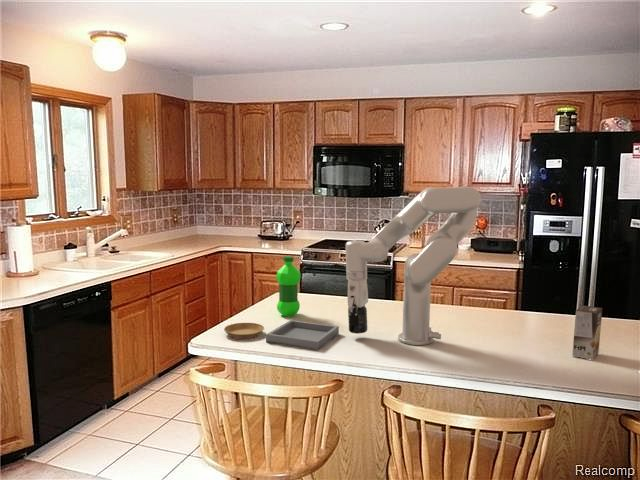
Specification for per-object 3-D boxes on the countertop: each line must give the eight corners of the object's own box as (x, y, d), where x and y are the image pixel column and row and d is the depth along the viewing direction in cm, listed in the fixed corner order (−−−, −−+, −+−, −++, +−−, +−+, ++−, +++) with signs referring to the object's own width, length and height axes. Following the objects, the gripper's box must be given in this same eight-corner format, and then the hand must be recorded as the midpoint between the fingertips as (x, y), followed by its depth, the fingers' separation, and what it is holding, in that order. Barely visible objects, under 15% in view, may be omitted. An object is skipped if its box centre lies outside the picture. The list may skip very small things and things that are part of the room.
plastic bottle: (273, 312, 226) (273, 255, 223) (297, 311, 229) (297, 254, 226) (278, 318, 217) (278, 259, 213) (303, 317, 220) (303, 258, 216)
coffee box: (592, 361, 171) (596, 313, 169) (571, 356, 175) (575, 309, 173) (599, 354, 178) (602, 307, 176) (578, 349, 182) (582, 304, 180)
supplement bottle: (367, 328, 195) (366, 296, 194) (367, 334, 188) (366, 301, 187) (349, 328, 196) (348, 297, 194) (348, 334, 189) (347, 301, 188)
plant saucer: (256, 342, 187) (256, 335, 187) (217, 339, 190) (217, 332, 190) (269, 330, 201) (269, 324, 201) (232, 327, 204) (232, 321, 204)
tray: (338, 334, 197) (338, 326, 197) (317, 350, 179) (317, 341, 178) (290, 327, 205) (290, 320, 204) (266, 342, 186) (266, 334, 186)
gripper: (358, 280, 180) (359, 330, 182) (373, 270, 196) (374, 317, 198) (338, 279, 183) (339, 328, 185) (354, 270, 199) (355, 315, 201)
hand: (357, 322), depth 192 cm, fingers closed on supplement bottle, 6 cm apart
